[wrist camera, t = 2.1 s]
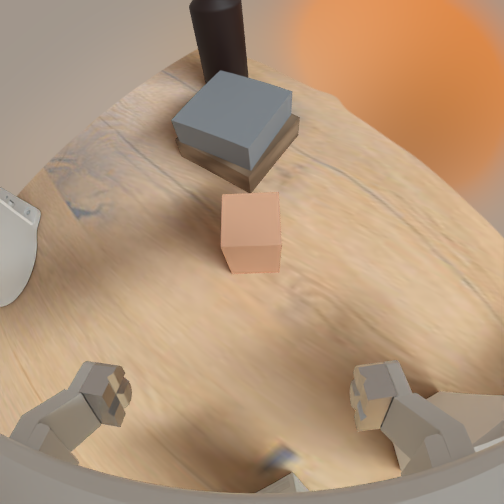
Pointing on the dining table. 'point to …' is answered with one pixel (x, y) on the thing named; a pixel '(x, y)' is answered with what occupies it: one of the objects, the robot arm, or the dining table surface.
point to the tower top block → (234, 118)
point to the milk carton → (470, 418)
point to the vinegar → (220, 36)
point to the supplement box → (285, 485)
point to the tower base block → (239, 174)
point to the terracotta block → (251, 232)
